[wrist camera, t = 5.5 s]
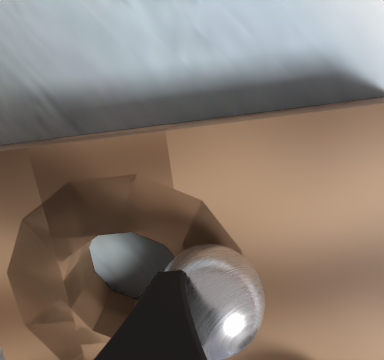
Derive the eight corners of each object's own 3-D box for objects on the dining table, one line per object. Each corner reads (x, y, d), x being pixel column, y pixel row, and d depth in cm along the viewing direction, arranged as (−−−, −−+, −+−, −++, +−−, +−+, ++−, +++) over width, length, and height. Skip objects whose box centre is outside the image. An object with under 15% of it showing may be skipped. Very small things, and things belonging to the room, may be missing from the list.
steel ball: (181, 409, 7) (131, 313, 10) (266, 359, 9) (207, 288, 12) (214, 316, 6) (148, 231, 9) (304, 280, 8) (230, 218, 10)
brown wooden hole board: (380, 373, 14) (415, 428, 12) (62, 392, 16) (36, 446, 13) (393, 95, 11) (446, 95, 9) (-15, 147, 12) (-68, 159, 10)
